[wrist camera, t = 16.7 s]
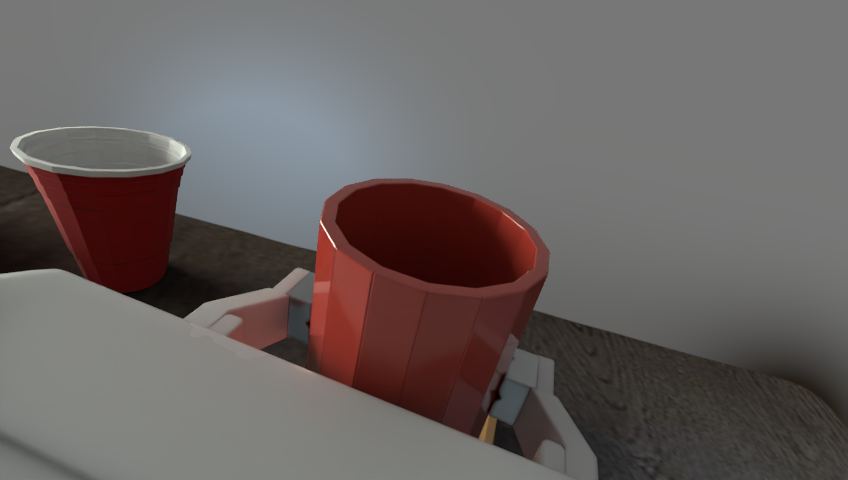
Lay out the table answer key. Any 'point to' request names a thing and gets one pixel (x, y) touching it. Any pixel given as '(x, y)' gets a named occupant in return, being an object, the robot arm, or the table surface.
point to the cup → (422, 296)
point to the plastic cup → (109, 197)
